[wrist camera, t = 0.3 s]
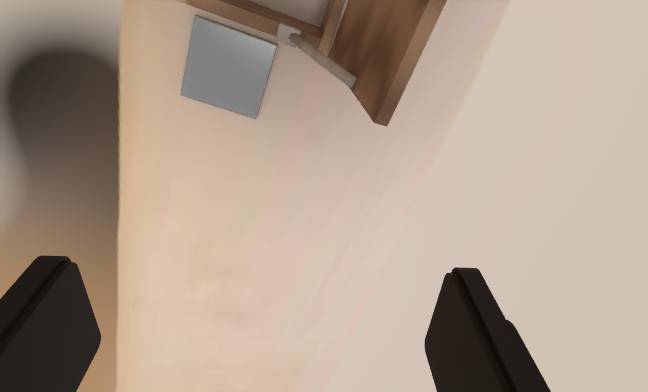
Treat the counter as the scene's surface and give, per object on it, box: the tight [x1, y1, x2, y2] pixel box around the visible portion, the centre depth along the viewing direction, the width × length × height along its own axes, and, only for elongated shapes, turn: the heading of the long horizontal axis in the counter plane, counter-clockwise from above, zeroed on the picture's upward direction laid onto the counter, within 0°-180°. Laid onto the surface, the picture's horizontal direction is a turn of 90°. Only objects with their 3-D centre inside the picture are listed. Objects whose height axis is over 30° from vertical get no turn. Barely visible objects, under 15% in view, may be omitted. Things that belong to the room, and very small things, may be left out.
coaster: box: [181, 15, 277, 119], centre depth 35 cm, size 7×7×1 cm
